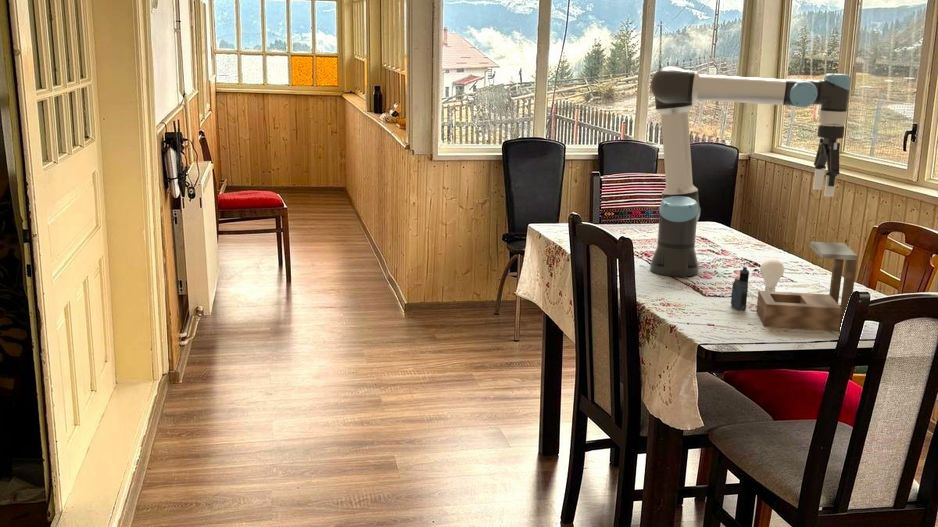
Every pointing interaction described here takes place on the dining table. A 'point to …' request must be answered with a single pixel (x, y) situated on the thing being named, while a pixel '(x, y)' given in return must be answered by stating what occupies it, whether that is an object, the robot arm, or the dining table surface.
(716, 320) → the dining table surface
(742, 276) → the vaping device
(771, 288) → the light bulb
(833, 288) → the socket station
